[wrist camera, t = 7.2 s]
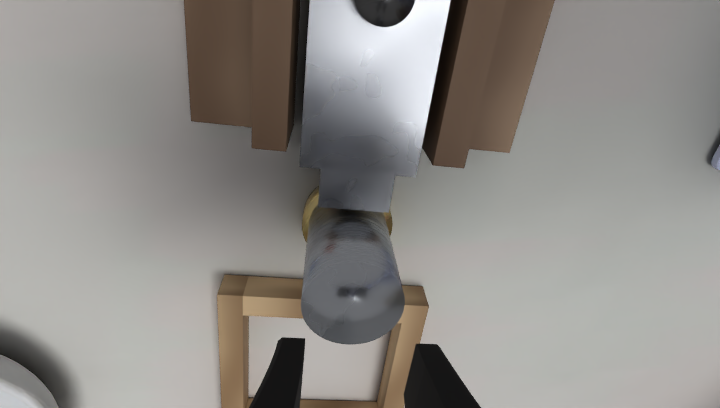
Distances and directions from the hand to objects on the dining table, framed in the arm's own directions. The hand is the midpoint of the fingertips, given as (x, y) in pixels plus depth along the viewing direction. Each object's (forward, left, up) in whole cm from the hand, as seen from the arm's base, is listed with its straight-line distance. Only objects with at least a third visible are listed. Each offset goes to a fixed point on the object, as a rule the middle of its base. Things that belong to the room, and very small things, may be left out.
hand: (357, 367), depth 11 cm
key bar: (0, -7, -9) cm, 11 cm away
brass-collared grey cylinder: (0, 0, -9) cm, 9 cm away
